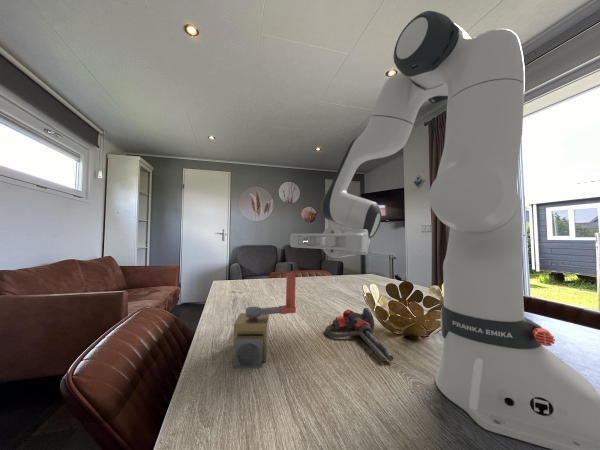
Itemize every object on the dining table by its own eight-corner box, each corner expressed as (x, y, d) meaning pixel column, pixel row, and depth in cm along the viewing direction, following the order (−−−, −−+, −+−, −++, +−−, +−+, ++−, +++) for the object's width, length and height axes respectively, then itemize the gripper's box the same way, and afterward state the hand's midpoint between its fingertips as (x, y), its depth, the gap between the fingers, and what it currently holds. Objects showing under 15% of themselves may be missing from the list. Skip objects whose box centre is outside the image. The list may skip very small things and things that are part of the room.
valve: (319, 328, 73) (363, 320, 75) (346, 382, 47) (412, 367, 49) (316, 308, 73) (360, 301, 75) (342, 352, 47) (408, 338, 49)
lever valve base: (265, 367, 46) (266, 324, 47) (230, 367, 46) (232, 325, 46) (268, 342, 57) (269, 308, 58) (240, 343, 57) (241, 308, 57)
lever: (246, 318, 50) (248, 275, 51) (245, 313, 53) (246, 273, 54) (296, 313, 54) (297, 274, 55) (292, 309, 57) (293, 272, 58)
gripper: (306, 230, 69) (275, 227, 57) (374, 229, 57) (352, 226, 45) (306, 251, 68) (275, 252, 57) (374, 254, 56) (351, 257, 45)
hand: (309, 241), depth 51 cm, fingers open, 3 cm apart
